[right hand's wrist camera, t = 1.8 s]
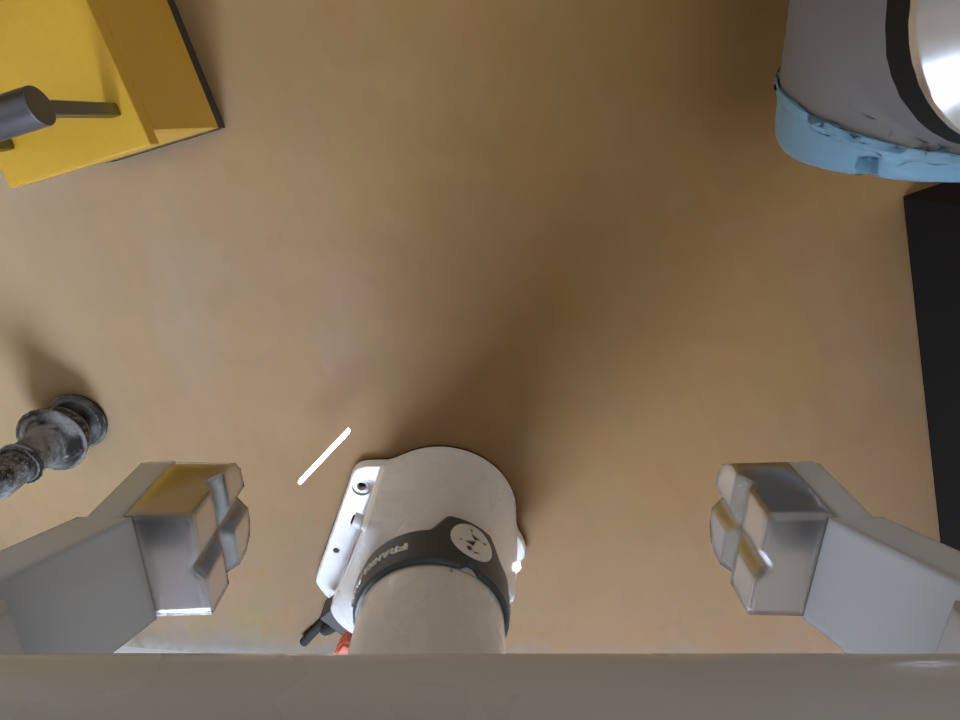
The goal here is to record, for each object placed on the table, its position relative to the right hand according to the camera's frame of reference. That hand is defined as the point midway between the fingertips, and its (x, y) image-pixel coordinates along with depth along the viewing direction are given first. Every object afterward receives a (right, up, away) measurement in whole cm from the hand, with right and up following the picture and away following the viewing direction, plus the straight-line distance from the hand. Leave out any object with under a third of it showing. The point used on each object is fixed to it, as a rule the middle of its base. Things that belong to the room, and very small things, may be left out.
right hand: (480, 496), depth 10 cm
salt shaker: (-36, -3, +45) cm, 58 cm away
